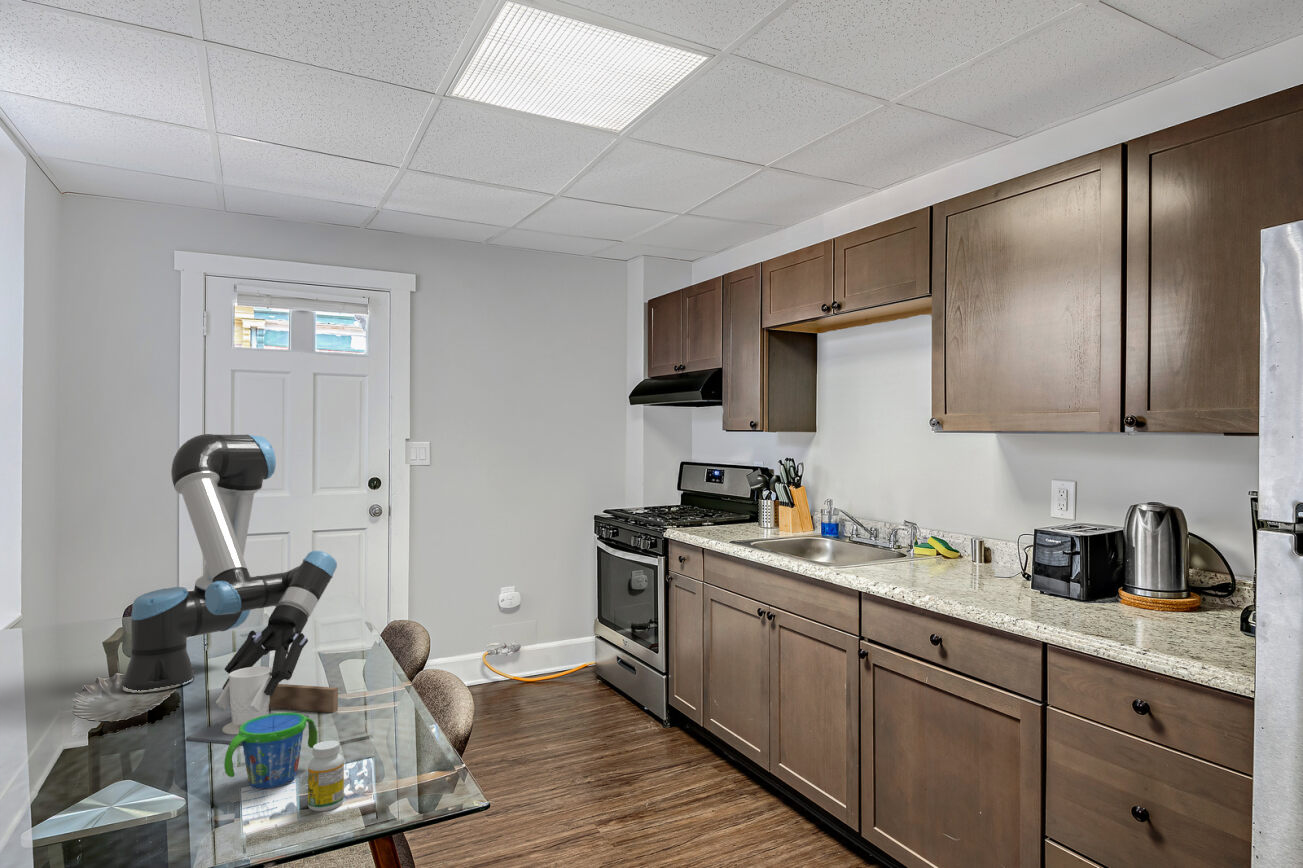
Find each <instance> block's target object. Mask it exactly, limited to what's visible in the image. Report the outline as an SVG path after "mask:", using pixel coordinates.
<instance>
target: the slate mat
mask: <svg viewBox="0 0 1303 868" xmlns="http://www.w3.org/2000/svg"><path fill="white" fill-rule="evenodd" d="M275 713H276V712H270V711H269V714H275ZM269 714H268V715H269ZM303 715H304V716H305V717H308V718H310V715H309V714H303ZM240 726H241V725H236V724H233V723H232V719H231V717H228V718H225V719H224V720H222V721H219V722H216V723H215V724H212V725H210V726H208V727H206V728H204V729H201V730H199V731H196V732H194V733H193V734H190V735H188V736H186V737H185V741H193V742H201V743H202V742H203V743H204V742H205V743H214V744H215V743H216V744H217V743H218V744H228V745H230V743H231V742H232V739H234V738H235V737H236V736H237V735H238V734H239V728H240ZM239 746H242V743H240V744H239Z"/></svg>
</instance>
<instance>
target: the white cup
mask: <svg viewBox="0 0 1303 868" xmlns="http://www.w3.org/2000/svg"><path fill="white" fill-rule="evenodd" d="M271 672H272V667H269V666H263V665H262V666H259V665H257V666H252V667H248V668H242V669H238V670H235V671H233V672H231V673H230V674H228V678H229V689H230V703H229V705H230V711H231V712H230V714H231V715H230V716H231V719H232V723H233V724H236V725H242V724H244V723H245V722H247V721H249V720H251V719H254V718H257V717H260V716H264V715H268V714H269V712H270V711H269V709H270V708H269V702H270V696H269V697H268V699H267V700H266V702H265V704H264V706H263V708H262V710H261V711H260V712H256V711H255V710H254V709H253V708H252V707H251V706H250V705H251V703H252V701H253V699H254V698H255V696H256V694H257V692H258V691H259V689H260V687H261V685H262V684H263V682H264V681H265V679H266V677H267V676H270V677H272V676H271V675H270V674H271ZM269 673H270V674H269Z"/></svg>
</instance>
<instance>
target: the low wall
mask: <svg viewBox="0 0 1303 868" xmlns="http://www.w3.org/2000/svg"><path fill="white" fill-rule="evenodd" d="M338 705H339V688H338V687H332V686H331V687H330V686H320V685H319V686H315V685H300V684H286V683H278V685H277V687H276V689H275V691H274V693H273V694H272V695H271V696H270V702H269V709H280V708H288V709H287V710H293V709H295V711H306V712H307V711H309V712H323V713H333V712H334V713H335V712H337V711H338V710H339V708H338V707H339V706H338ZM289 708H290V709H289Z"/></svg>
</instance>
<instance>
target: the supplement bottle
mask: <svg viewBox="0 0 1303 868" xmlns="http://www.w3.org/2000/svg"><path fill="white" fill-rule="evenodd" d="M340 747H341V746H340V742H339V741H337V740H324V741H321V742H317V744H315V745H314V746H313V748H312V756H313V758H311V759H310V760H309V762H308V765H307V775H308V776H307V807H308V809H309V810H311V811H313V812H327V811H331V810H334V809H336V808H338V807H340V806H341V805H342V804H343V803H344V800H345V798H344V797H345V792H344V791H345V789H344V788H345V786H344V785H345V780H344V779H345V771H344V770H345V759H344V757H343V755H342V754H340V751H341V750H340Z"/></svg>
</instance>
